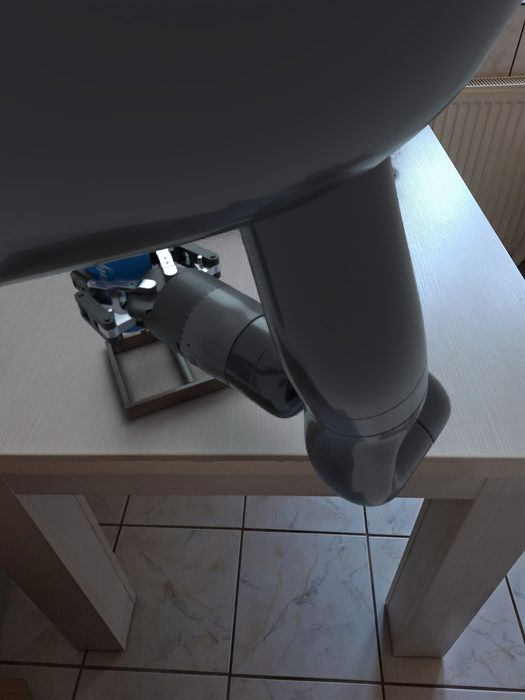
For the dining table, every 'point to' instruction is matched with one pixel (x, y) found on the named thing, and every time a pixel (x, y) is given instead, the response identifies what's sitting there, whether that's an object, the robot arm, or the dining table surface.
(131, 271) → the beverage can
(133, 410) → the drying rack
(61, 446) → the dining table surface
